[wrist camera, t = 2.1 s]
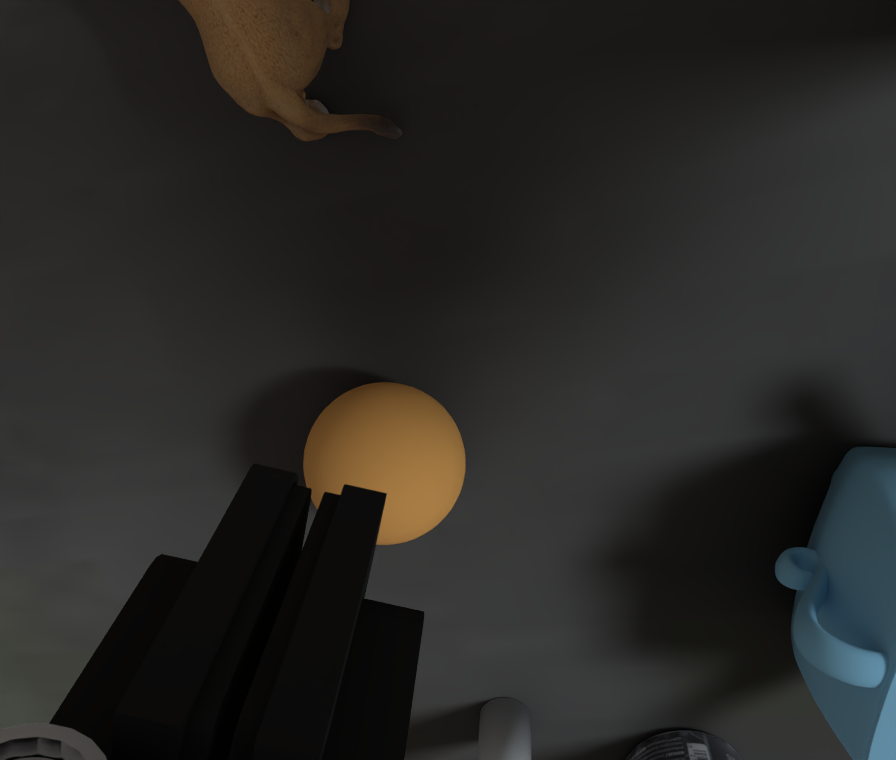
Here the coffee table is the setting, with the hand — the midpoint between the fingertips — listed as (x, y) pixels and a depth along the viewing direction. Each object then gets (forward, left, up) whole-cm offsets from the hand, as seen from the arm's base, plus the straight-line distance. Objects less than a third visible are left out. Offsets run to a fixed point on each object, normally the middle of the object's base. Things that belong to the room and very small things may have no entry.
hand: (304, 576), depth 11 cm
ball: (+9, 0, -19) cm, 21 cm away
